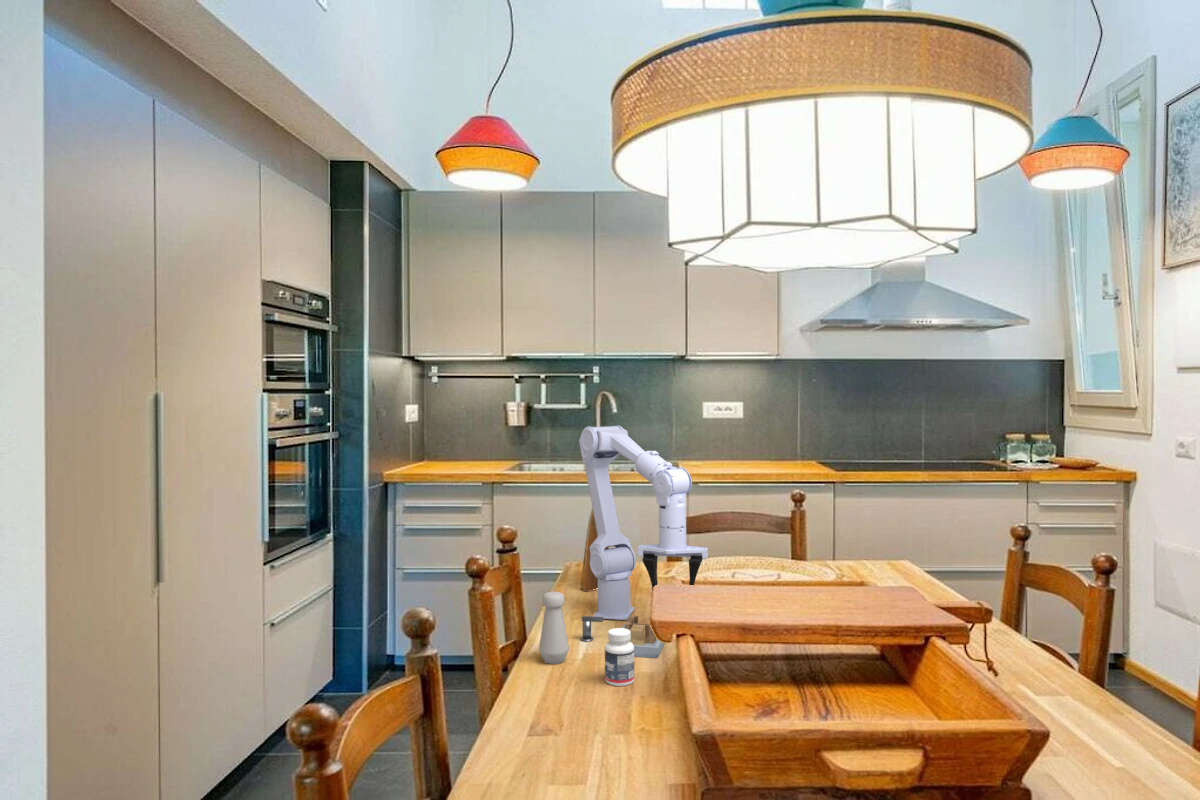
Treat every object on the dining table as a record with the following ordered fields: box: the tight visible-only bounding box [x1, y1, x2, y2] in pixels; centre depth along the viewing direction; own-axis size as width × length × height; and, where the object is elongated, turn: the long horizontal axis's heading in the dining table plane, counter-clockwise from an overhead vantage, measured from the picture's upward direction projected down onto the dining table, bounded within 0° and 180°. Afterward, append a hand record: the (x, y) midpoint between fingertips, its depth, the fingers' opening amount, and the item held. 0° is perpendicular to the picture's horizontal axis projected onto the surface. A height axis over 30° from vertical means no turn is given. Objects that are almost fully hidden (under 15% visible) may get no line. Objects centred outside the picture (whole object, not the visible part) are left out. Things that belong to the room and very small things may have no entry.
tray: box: [621, 623, 665, 659], centre depth 147 cm, size 13×10×2 cm
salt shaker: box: [538, 591, 570, 665], centre depth 139 cm, size 6×6×13 cm
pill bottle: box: [604, 627, 635, 687], centre depth 129 cm, size 5×5×9 cm
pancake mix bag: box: [580, 507, 610, 592], centre depth 196 cm, size 7×19×28 cm, turn 163°
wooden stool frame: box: [624, 615, 656, 646], centre depth 148 cm, size 9×6×4 cm, turn 166°
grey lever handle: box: [580, 615, 604, 643], centre depth 150 cm, size 3×5×5 cm, turn 76°
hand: (673, 590), depth 151 cm, fingers open, 7 cm apart
